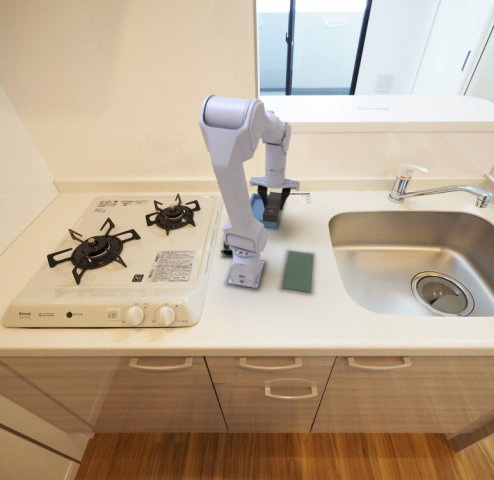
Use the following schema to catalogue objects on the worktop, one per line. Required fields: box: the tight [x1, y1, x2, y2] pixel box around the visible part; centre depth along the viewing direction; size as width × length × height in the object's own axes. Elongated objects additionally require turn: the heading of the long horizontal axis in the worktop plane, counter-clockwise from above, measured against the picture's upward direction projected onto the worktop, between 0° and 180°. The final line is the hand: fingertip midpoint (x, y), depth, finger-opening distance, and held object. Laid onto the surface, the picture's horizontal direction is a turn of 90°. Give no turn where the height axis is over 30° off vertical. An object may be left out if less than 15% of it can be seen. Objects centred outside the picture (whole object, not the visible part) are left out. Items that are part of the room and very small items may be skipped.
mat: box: [282, 250, 314, 293], centre depth 72 cm, size 14×7×1 cm, turn 168°
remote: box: [263, 191, 282, 224], centre depth 81 cm, size 13×4×3 cm, turn 168°
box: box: [249, 192, 278, 229], centre depth 93 cm, size 17×12×2 cm
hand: (273, 207), depth 81 cm, fingers closed on remote, 4 cm apart
